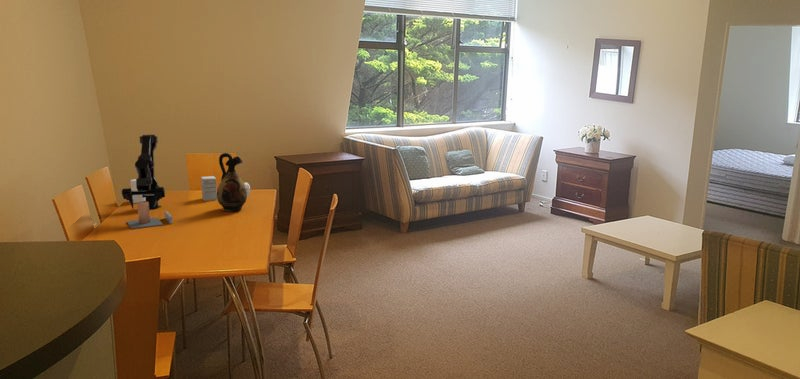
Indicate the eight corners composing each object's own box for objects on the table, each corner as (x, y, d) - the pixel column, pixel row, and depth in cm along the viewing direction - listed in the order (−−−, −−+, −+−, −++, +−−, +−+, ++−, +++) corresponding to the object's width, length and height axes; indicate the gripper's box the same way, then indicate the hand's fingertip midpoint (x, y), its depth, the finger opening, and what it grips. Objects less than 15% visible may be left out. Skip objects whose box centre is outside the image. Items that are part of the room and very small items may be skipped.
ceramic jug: (251, 206, 320) (249, 151, 314) (241, 213, 305) (239, 156, 299) (221, 205, 322) (218, 150, 315) (209, 212, 307) (206, 155, 300)
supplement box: (202, 198, 338) (200, 176, 335) (215, 197, 341) (214, 175, 338) (203, 201, 331) (202, 179, 329) (217, 200, 334) (216, 178, 332)
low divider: (165, 218, 294) (164, 211, 293) (167, 218, 295) (166, 211, 294) (170, 223, 284) (169, 216, 283) (172, 223, 285) (171, 216, 284)
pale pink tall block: (147, 220, 287) (145, 200, 285) (152, 222, 284) (150, 202, 282) (137, 222, 283) (135, 202, 281) (142, 224, 280) (140, 204, 278)
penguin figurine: (250, 182, 339) (229, 186, 333) (252, 197, 341) (231, 201, 335) (247, 181, 344) (226, 184, 338) (249, 195, 346) (228, 199, 340)
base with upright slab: (127, 202, 327) (125, 180, 324) (140, 199, 334) (139, 178, 332) (138, 204, 323) (136, 182, 320) (151, 200, 330) (150, 179, 328)
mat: (126, 222, 286) (126, 221, 286) (157, 218, 293) (157, 217, 293) (131, 229, 274) (131, 228, 274) (163, 225, 281) (162, 224, 281)
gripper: (120, 171, 280) (118, 199, 272) (162, 170, 285) (162, 197, 277) (124, 184, 289) (122, 212, 281) (165, 183, 294) (164, 210, 286)
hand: (143, 207), depth 281 cm, fingers open, 9 cm apart
